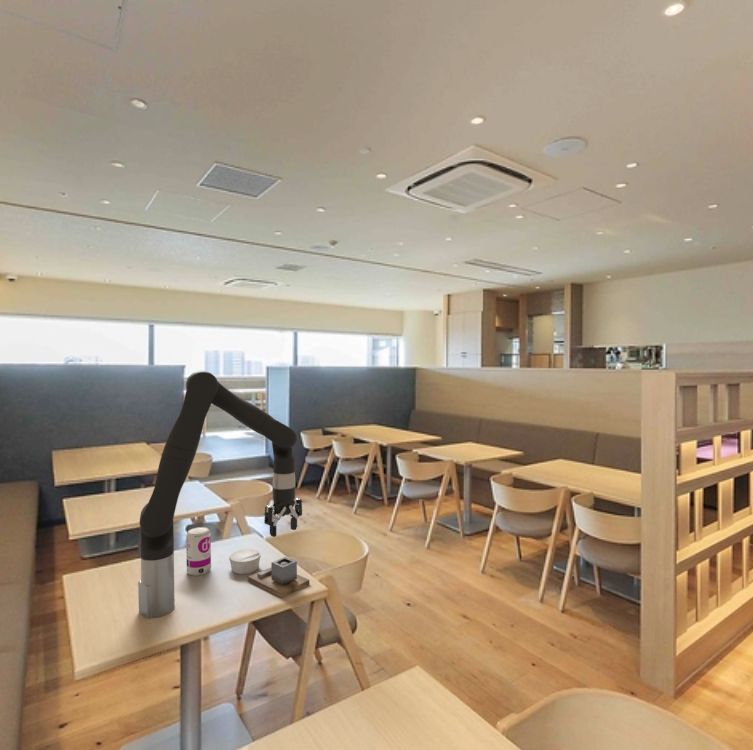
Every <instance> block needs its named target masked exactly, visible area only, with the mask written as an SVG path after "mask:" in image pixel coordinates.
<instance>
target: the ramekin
mask: <svg viewBox="0 0 753 750" xmlns="http://www.w3.org/2000/svg"><path fill="white" fill-rule="evenodd" d="M228 558H229V559H228V560H229V563H230V568H231V571H232V572H233V573H234V574H237V575H247V574H252V573H253V572H256V571H257V570H258V568H259V566H260V561H261V552H260V551H259V550H257V549H255V548H253V549H252V548H244V549H239V550H236V551H233V552H231V553H230V555H229V557H228Z"/></svg>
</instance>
